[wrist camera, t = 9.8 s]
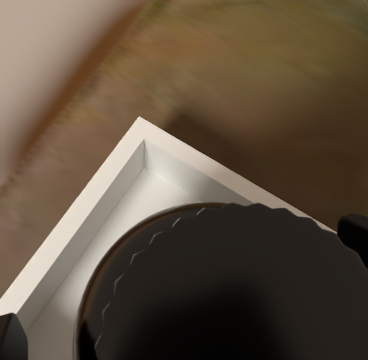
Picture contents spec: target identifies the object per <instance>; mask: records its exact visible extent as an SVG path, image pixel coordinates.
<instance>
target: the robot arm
mask: <svg viewBox="0 0 368 360" xmlns="http://www.w3.org/2000/svg"><path fill="white" fill-rule="evenodd" d="M337 236H338V237H339V238H340V240H341V241H342V243H343V244H344V245H345V246H347V247H349V248H351V249H352V250H354V251H356V252H357V253H358V254H359V256H360V258H361V259H362V262H363V264H364V266H365V267H366V268H367V269H368V217H364V216H361V215H357V214H349V215H346V216H342V217H340V218H339V220H338V227H337ZM0 360H28V340H27V336H26V333H25V331H24V329H23V327H22V325H21V323H20V321H19V319H18V317H17V315H16V314H15V313H8V314H4V315H1V316H0Z"/></svg>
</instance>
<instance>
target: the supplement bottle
mask: <svg viewBox="0 0 368 360" xmlns="http://www.w3.org/2000/svg"><path fill="white" fill-rule="evenodd" d="M72 358H73V360H368V269H367V268H366V267H365V266H364V264H363V262H362V259H361V258H360V256H359V254H358V253H357V252H356V251H354V250H352V249H351V248H349V247H347V246H345V245H344V244H343V243H342V241H341V240H340V238H339V237H338V236H337V234H336V233H334V232H331V231H329V230H325V229H322V228H321V227H320V226H319V225H318V224H317V223H316V222H315V221H314V220H313V219H312V218H308V217H300V216H296V215H295V214H293V213H292V212H291V211H290V210H288V209H287V208H274V209H272V208H270V207H268V206H266V205H264V204H261V203H255V204H251V205H248V206H243V205H240V204H236V203H222V202H194V203H187V204H181V205H177V206H173V207H170V208H167V209H164V210H161V211H159V212H157V213H155V214H153V215H150V216H149V217H147V218H145V219H143V220H142V221H140V222H138V223H137V224H136V225H134V226H133V227H131V228H130V229H129V230H128V231H126V232H125V233H124V234H123V235H122V236H121V237H120V238H119V239H118V240H117V241H116V242H115V243H114V244H113V245H112V246H111V247H110V248H109V249H108V251H107V252H106V253H105V254H104V256H103V257H102V258H101V260H100V261H99V263H98V264H97V266H96V268H95V269H94V271H93V273H92V275H91V277H90V279H89V280H88V282H87V285H86V287H85V290H84V292H83V294H82V297H81V301H80V304H79V307H78V311H77V315H76V320H75V325H74V333H73V348H72Z"/></svg>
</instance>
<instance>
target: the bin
mask: <svg viewBox="0 0 368 360" xmlns="http://www.w3.org/2000/svg"><path fill="white" fill-rule="evenodd" d="M194 202H222V203H236V204H240V205H243V206H248V205H251V204H255V203H261V204H264V205H266V206H268V207H270V208H272V209H274V208H287V209H288V210H290V211H291V212H292V213H293V214H295V215H296V216H300V217H308V218H311V217H310V216H308V215H306V214H305V213H303V212H301V211H299V210H298V209H296V208H294V207H293V206H291V205H289V204H288V203H286V202H284V201H282V200H281V199H279V198H277V197H276V196H274V195H272V194H270V193H269V192H267V191H265V190H264V189H262V188H260V187H259V186H257V185H255V184H253V183H252V182H250V181H248V180H247V179H245V178H243V177H242V176H240V175H238V174H236V173H235V172H233V171H231V170H230V169H228V168H226V167H224V166H223V165H221V164H219V163H218V162H216V161H214V160H213V159H211V158H209V157H207V156H206V155H204V154H202V153H201V152H199V151H197V150H195V149H194V148H192V147H190V146H189V145H187V144H185V143H184V142H182V141H180V140H178V139H177V138H175V137H173V136H172V135H170V134H168V133H166V132H165V131H163V130H161V129H160V128H158V127H156V126H155V125H153V124H151V123H149V122H148V121H146V120H144V119H143V118H141V117H138V119H137V120H136V121H135V122H134V124H133V125H132V126H131V128H130V129H129V130H128V132H127V133H126V134H125V136H124V137H123V138H122V140H121V141H120V142H119V144H118V145H117V146H116V148H115V149H114V150H113V151H112V153H111V154H110V155H109V157H108V158H107V159H106V161H105V162H104V163H103V165H102V166H101V167H100V169H99V170H98V171H97V173H96V174H95V175H94V177H93V178H92V179H91V181H90V182H89V183H88V184H87V186H86V187H85V188H84V190H83V191H82V192H81V194H80V195H79V196H78V198H77V199H76V200H75V202H74V203H73V204H72V206H71V207H70V208H69V210H68V211H67V212H66V213H65V215H64V216H63V217H62V219H61V220H60V221H59V223H58V224H57V225H56V227H55V228H54V229H53V231H52V232H51V233H50V235H49V236H48V237H47V239H46V240H45V241H44V242H43V244H42V245H41V246H40V248H39V249H38V250H37V252H36V253H35V254H34V256H33V257H32V258H31V260H30V261H29V262H28V264H27V265H26V266H25V268H24V269H23V270H22V272H21V273H20V274H19V275H18V277H17V278H16V279H15V281H14V282H13V283H12V285H11V286H10V287H9V289H8V290H7V291H6V293H5V294H4V295H3V297H2V298H1V299H0V316H1V315H4V314H8V313H15V314H16V315H17V317H18V319H19V321H20V323H21V325H22V327H23V329H24V331H25V333H26V336H27V340H28V360H73V358H72V348H73V333H74V325H75V320H76V315H77V311H78V307H79V304H80V301H81V297H82V294H83V292H84V290H85V287H86V285H87V282H88V280H89V279H90V277H91V275H92V273H93V271H94V269H95V268H96V266H97V264H98V263H99V261H100V260H101V258H102V257H103V256H104V254H105V253H106V252H107V251H108V249H109V248H110V247H111V246H112V245H113V244H114V243H115V242H116V241H117V240H118V239H119V238H120V237H121V236H122V235H123V234H124V233H125V232H126V231H128V230H129V229H130V228H131V227H133V226H134V225H136V224H137V223H138V222H140V221H142V220H143V219H145V218H147V217H149V216H150V215H153V214H155V213H157V212H159V211H161V210H164V209H167V208H170V207H173V206H177V205H181V204H187V203H194ZM312 219H313V218H312ZM313 220H314V221H315V222H316V223H317V224H318V225H319V226H320V227H321V228H322V229H325V230H329V231H331V232H334V233H336V234H337V232H335V231H334V230H332V229H330V228H328V227H327V226H325V225H323V224H322V223H320V222H318V221H317V220H315V219H313Z"/></svg>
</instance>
